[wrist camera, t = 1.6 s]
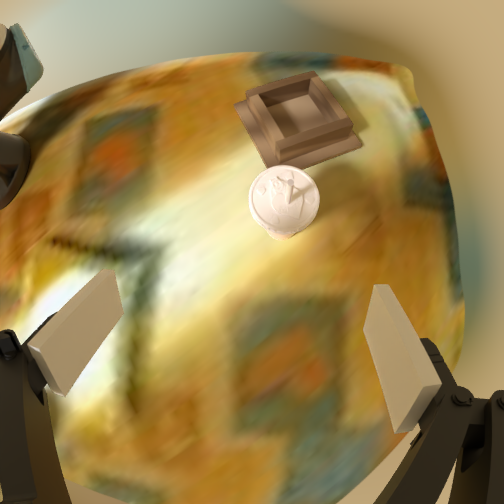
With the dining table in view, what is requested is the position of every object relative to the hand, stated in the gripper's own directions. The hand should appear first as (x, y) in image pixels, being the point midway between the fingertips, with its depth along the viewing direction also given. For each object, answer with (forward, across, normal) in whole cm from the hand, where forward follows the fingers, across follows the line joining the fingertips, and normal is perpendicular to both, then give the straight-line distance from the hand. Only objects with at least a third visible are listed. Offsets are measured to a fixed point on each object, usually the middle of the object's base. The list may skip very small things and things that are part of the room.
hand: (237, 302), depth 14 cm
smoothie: (+22, +2, -3) cm, 22 cm away
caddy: (+29, +4, +9) cm, 31 cm away
